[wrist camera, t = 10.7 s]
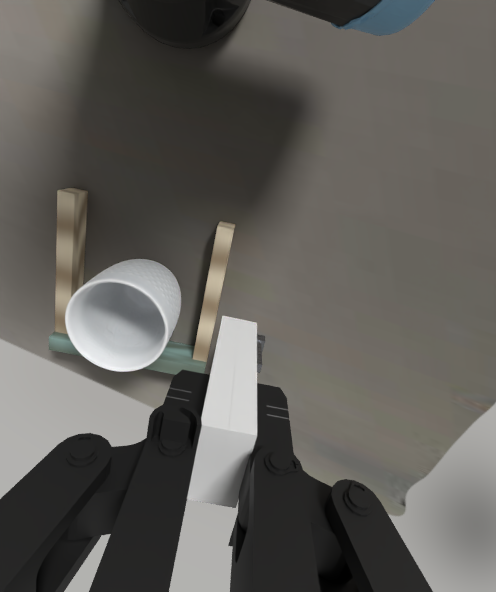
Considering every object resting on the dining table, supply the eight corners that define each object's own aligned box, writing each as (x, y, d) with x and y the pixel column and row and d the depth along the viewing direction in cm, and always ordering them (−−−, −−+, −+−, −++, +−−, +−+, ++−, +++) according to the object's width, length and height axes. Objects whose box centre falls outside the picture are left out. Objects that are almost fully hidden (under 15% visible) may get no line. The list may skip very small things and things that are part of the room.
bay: (71, 187, 45) (50, 191, 40) (235, 224, 46) (233, 232, 41) (67, 332, 52) (48, 349, 48) (207, 360, 54) (202, 380, 49)
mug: (146, 352, 53) (114, 411, 41) (82, 309, 51) (28, 358, 39) (206, 280, 49) (189, 322, 37) (139, 229, 46) (97, 256, 34)
